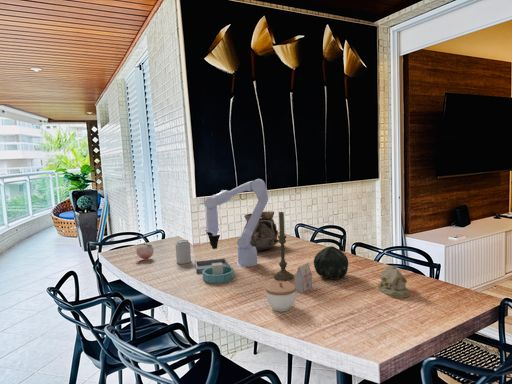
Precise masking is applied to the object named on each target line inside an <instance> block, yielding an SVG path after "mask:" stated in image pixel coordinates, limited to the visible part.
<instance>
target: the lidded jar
mask: <svg viewBox="0 0 512 384" xmlns="http://www.w3.org/2000/svg"><path fill="white" fill-rule="evenodd" d="M265 293H266V295H265V296H266V299H267V300H266V301H267V303H268V304H269V306H270V307H271V308H272V309H273V310H274V311H275V312H287V311H289V310H290V309H291V308H292V307H293V306H294V304H295V302H296V298H297V297H296V296H297V291H296V286H295V283H291V282H288V281H275V282H274V281H273V282H270V283H267V285H265Z"/></svg>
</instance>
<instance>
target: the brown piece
mask: <svg viewBox="0 0 512 384" xmlns="http://www.w3.org/2000/svg"><path fill="white" fill-rule="evenodd" d="M251 215H252V213H247V214H245V215H244V218H245V220H246V223H245V225H244V227H243V230H242V233H243V232H244V230H245V228H246V226H247V223H248V221H249V219H250V217H251ZM274 216H275V211H272V210H271V211H269V210H268V211H263V212H262V214H261V217H260V219H259V221H258V223H257V225H256V227H255V229H254V231H253V233H252V236H251V242H250V244H251V245H252V247H253V246H255V247H256V250H257V251H264V250H269V249H271V248H273V247H275V245H277V244H278V243H279V239H278V236H279V235H278V234H279V231H278V230H277V228H278V227H277V225H276V223H275V221H274V219H273V218H274Z"/></svg>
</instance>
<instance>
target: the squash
mask: <svg viewBox="0 0 512 384" xmlns="http://www.w3.org/2000/svg"><path fill="white" fill-rule="evenodd" d="M313 266H314V270H315V271H316V272H315V273H317V275H319V276H321V277H323V278H326V279H327V280H329V281H330V280H332V279H333V280H338V279H341V278H344V277H345V276H346V275H347V273H348V270H349V260H348V256H347V255H346V253H344V252H343V251H342V250H340V249H339V248H337V247H335V246H333V245H331V246H330V245H329V246H326V247H324V248H323V249H321V250H320V251H319V252H317V253H316V254H315V256H314V258H313Z"/></svg>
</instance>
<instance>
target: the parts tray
mask: <svg viewBox="0 0 512 384" xmlns="http://www.w3.org/2000/svg"><path fill="white" fill-rule="evenodd" d="M220 262H222V264H223V266H229V267H231V265H230V263H229V262H228V260H227V259H226V257H224V258H215V259H214V258H212V259H205V260H195V261H194V267H195V271H196V274H202V271H203V270H204V269H206V268H209V267H212V263H220Z"/></svg>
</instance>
